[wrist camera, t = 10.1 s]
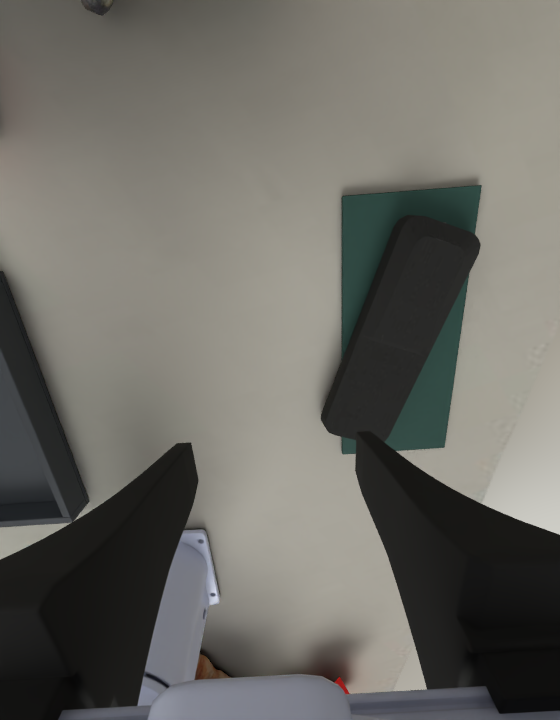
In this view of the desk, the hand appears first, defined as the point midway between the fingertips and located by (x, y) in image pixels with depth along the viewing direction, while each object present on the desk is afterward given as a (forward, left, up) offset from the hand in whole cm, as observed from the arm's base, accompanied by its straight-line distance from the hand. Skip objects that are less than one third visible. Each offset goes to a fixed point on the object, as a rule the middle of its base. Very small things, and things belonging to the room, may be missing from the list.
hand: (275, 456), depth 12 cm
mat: (+2, -9, -9) cm, 13 cm away
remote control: (+2, -8, -9) cm, 12 cm away
